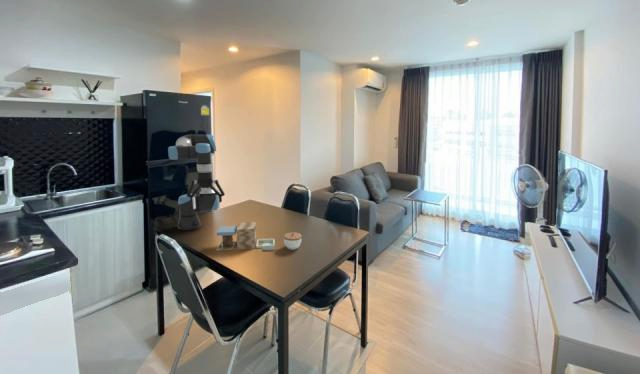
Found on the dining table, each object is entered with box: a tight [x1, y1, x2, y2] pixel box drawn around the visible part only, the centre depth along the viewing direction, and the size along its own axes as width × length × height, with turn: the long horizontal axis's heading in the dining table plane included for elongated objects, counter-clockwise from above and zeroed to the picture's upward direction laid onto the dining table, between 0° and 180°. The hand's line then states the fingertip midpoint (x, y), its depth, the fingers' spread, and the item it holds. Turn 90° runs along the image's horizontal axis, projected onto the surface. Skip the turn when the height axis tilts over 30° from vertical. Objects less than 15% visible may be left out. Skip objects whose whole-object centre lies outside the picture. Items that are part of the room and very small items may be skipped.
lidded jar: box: [283, 232, 302, 251], centre depth 180 cm, size 11×11×9 cm
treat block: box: [221, 235, 234, 248], centre depth 177 cm, size 5×5×7 cm
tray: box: [255, 238, 276, 251], centre depth 181 cm, size 11×11×3 cm
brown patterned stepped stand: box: [215, 221, 257, 251], centre depth 178 cm, size 22×12×14 cm, turn 99°
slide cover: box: [216, 225, 238, 237], centre depth 176 cm, size 10×10×2 cm
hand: (206, 208), depth 172 cm, fingers open, 13 cm apart
